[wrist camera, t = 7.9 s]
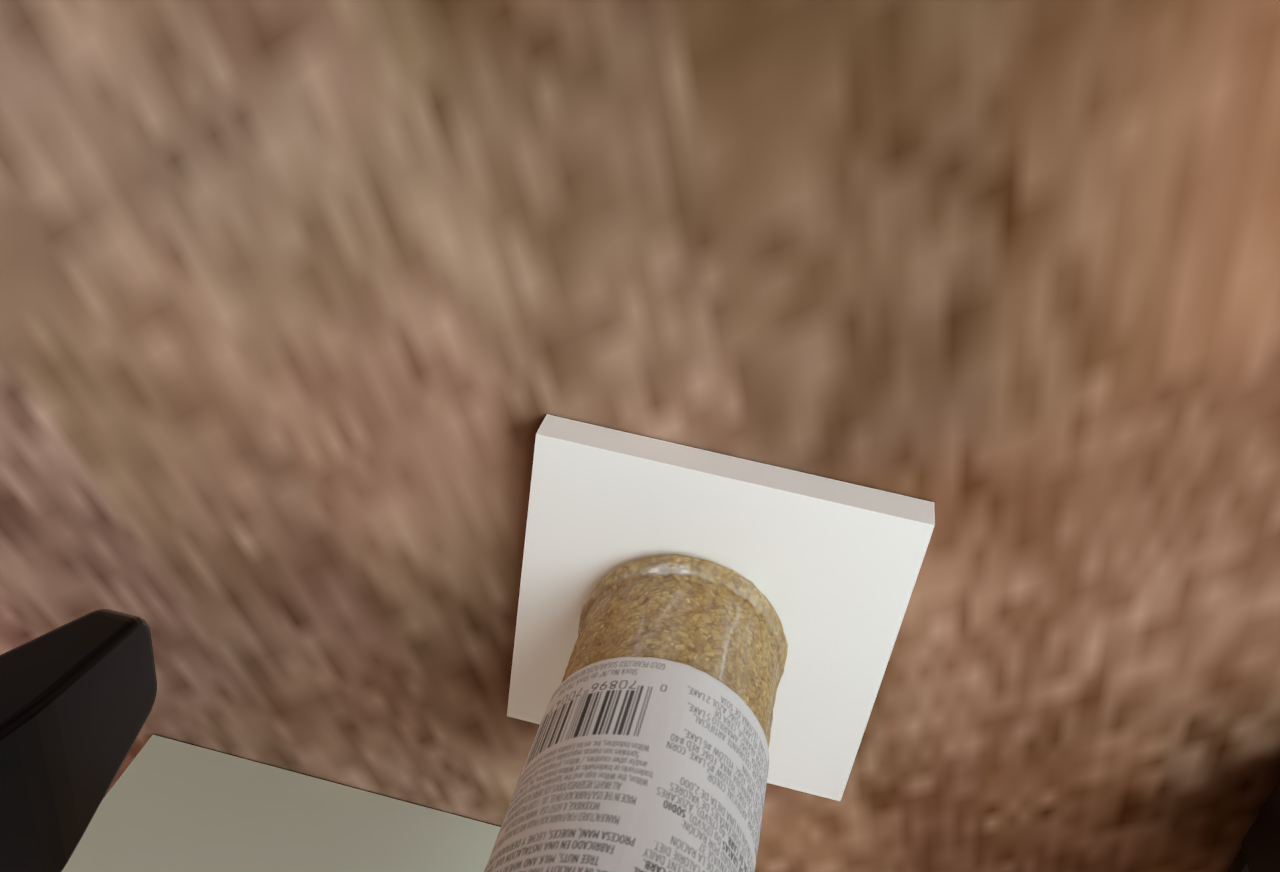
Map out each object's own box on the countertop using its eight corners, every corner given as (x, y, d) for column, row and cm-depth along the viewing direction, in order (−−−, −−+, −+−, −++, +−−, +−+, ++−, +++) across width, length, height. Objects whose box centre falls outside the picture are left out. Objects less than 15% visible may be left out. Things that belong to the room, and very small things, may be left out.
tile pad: (934, 501, 23) (934, 525, 22) (842, 775, 27) (840, 801, 27) (547, 414, 24) (535, 433, 23) (516, 692, 28) (506, 715, 27)
